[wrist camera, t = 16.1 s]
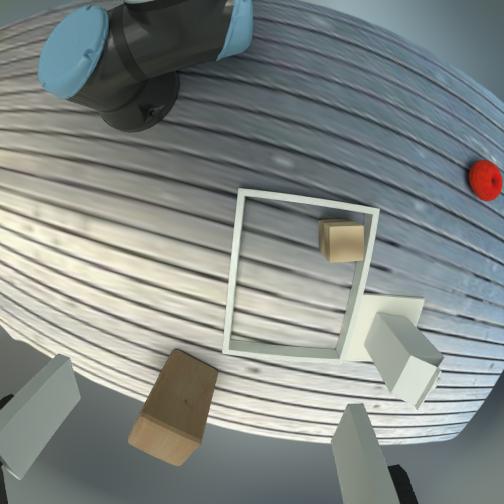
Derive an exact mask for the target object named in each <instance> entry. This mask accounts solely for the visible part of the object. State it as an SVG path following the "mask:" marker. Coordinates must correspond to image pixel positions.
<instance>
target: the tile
mask: <svg viewBox="0 0 504 504" xmlns="http://www.w3.org/2000/svg"><path fill="white" fill-rule="evenodd" d="M424 302H425V299H424V298H422V297H409V296H396V295H384V294H373V293H363V296H362V300H361V304H360V308H359V312H358V316H357V320H356V323H355V327H354V330H353V334H352V337H351V341H350V344H349V347H348V350H347V354H346V357H345V360H344V361H372V359H371V357H370V355H369V354H368V352H367V350H366V348H365V347H364V343H365V341H366V339H367V336H368V334H369V331H370V329H371V326H372V324H373V321H374V318H375V316H376V313H381V314H387V315H394V316H400V317H407V318H408V319H409V320H410V321H411V322H412V323H413V324H414V325H415V326H416V327H417V324H418V321H419V318H420V315H421V311H422V308H423V305H424Z"/></svg>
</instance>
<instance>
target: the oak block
mask: <svg viewBox="0 0 504 504" xmlns="http://www.w3.org/2000/svg"><path fill="white" fill-rule="evenodd" d="M363 246H364V226H363V225H361V224H359V223H356V222H354V221H351V220H349V219H331V220H319V250H320V252H321V253H322V254H323V255H324V256H325V258H326V259H327V260H328V261H329V262H330V263H332V262H349V261H363Z"/></svg>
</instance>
